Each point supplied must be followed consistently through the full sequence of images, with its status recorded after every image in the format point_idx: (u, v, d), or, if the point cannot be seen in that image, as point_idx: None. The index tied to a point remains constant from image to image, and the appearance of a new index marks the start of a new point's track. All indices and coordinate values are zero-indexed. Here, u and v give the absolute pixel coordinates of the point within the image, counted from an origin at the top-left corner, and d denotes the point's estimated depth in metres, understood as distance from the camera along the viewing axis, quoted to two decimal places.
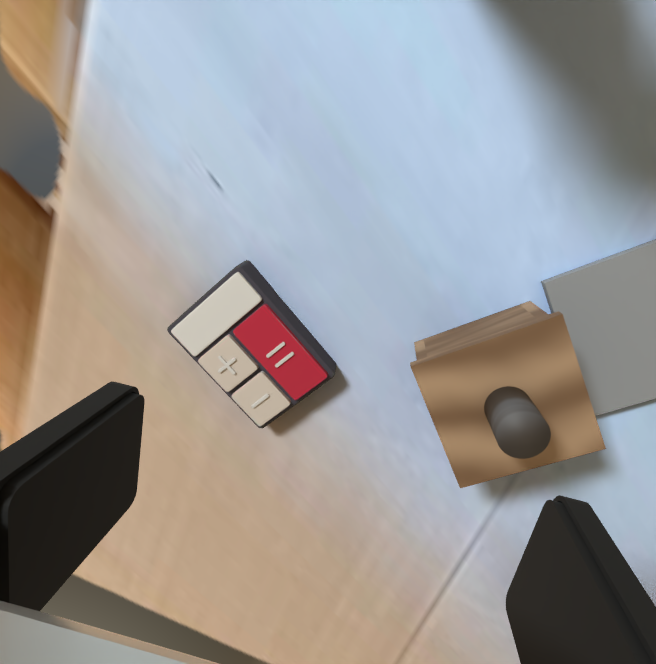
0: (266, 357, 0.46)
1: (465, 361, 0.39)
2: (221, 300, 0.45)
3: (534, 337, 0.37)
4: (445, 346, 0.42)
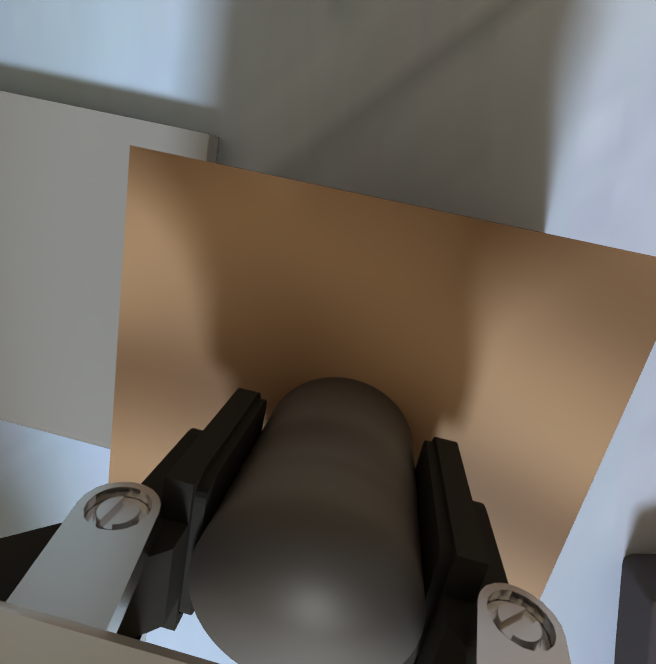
0: None
1: None
2: None
3: None
4: None
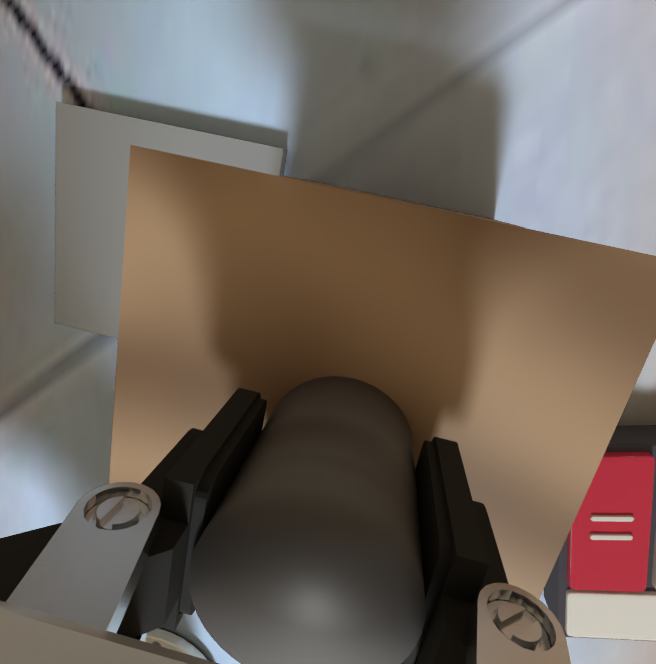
0: (633, 536, 0.29)
1: None
2: (619, 626, 0.31)
3: None
4: None
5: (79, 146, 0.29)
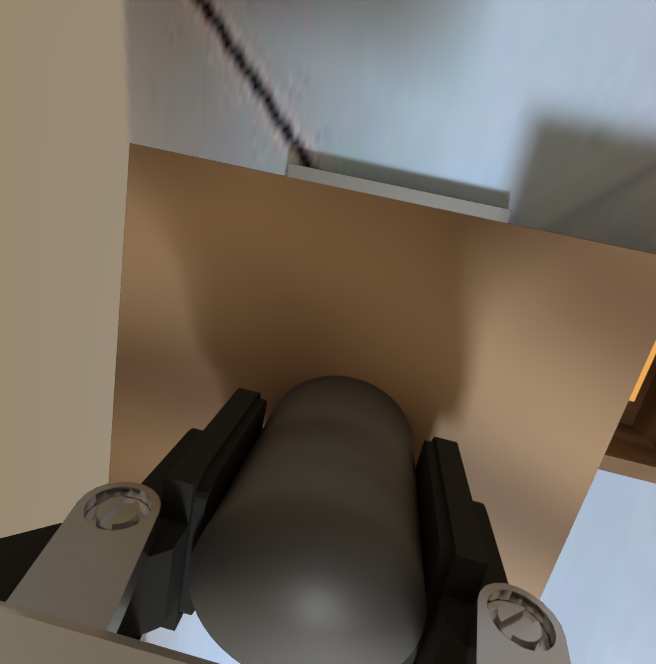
0: None
1: None
2: None
3: None
4: None
5: None
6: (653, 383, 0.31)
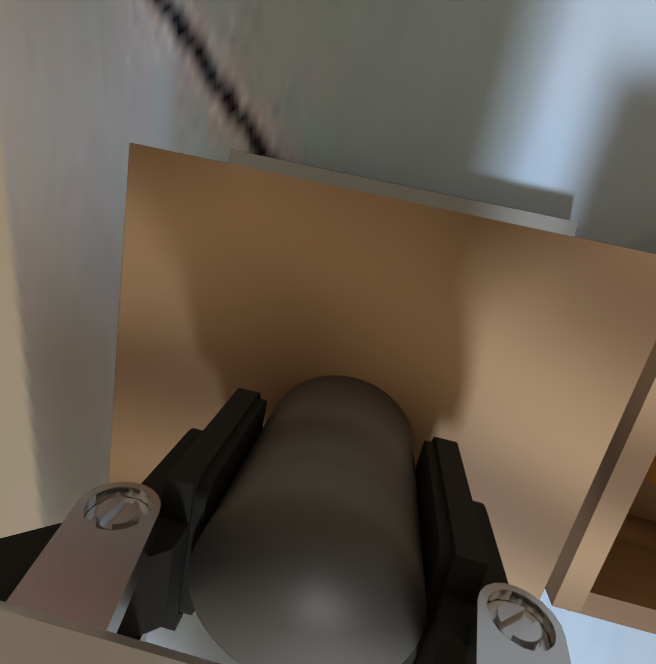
0: None
1: None
2: None
3: None
4: None
5: None
6: None
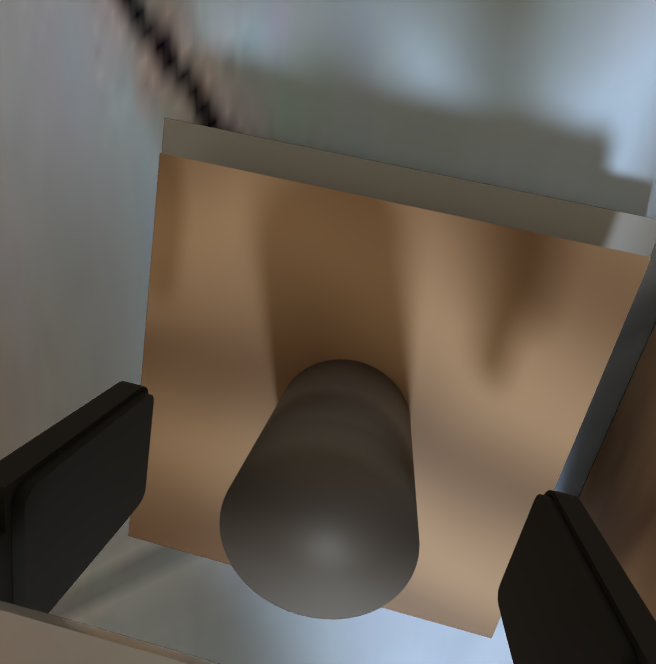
0: None
1: None
2: None
3: (201, 529, 0.16)
4: None
5: None
6: None
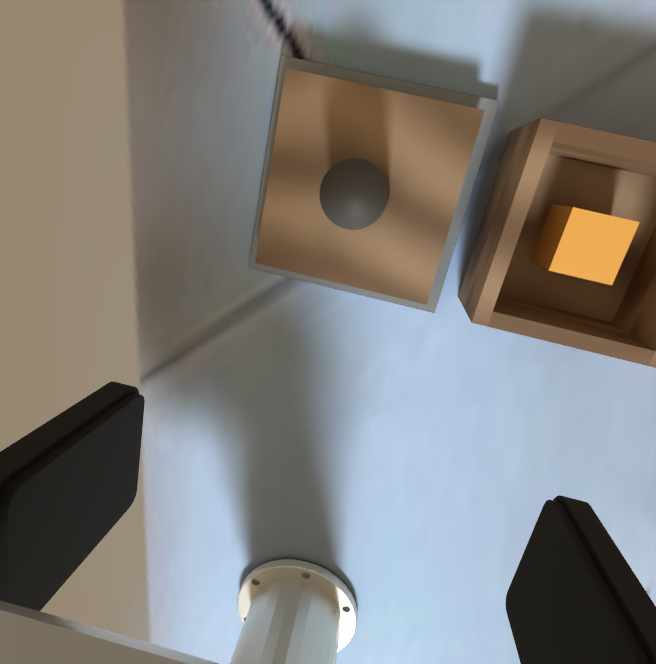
0: None
1: (369, 274, 0.33)
2: None
3: (291, 256, 0.33)
4: None
5: None
6: (633, 278, 0.32)
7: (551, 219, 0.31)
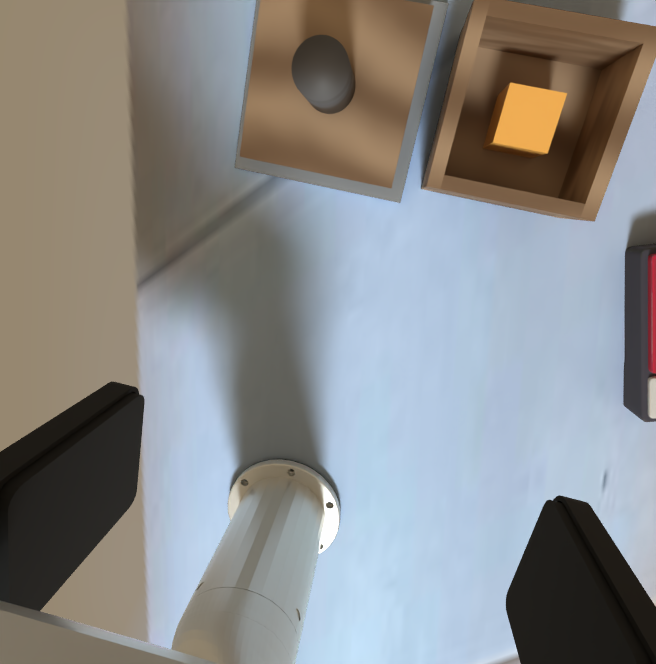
0: None
1: (340, 162, 0.37)
2: None
3: (271, 148, 0.37)
4: (542, 212, 0.34)
5: None
6: (572, 160, 0.36)
7: (496, 106, 0.35)
